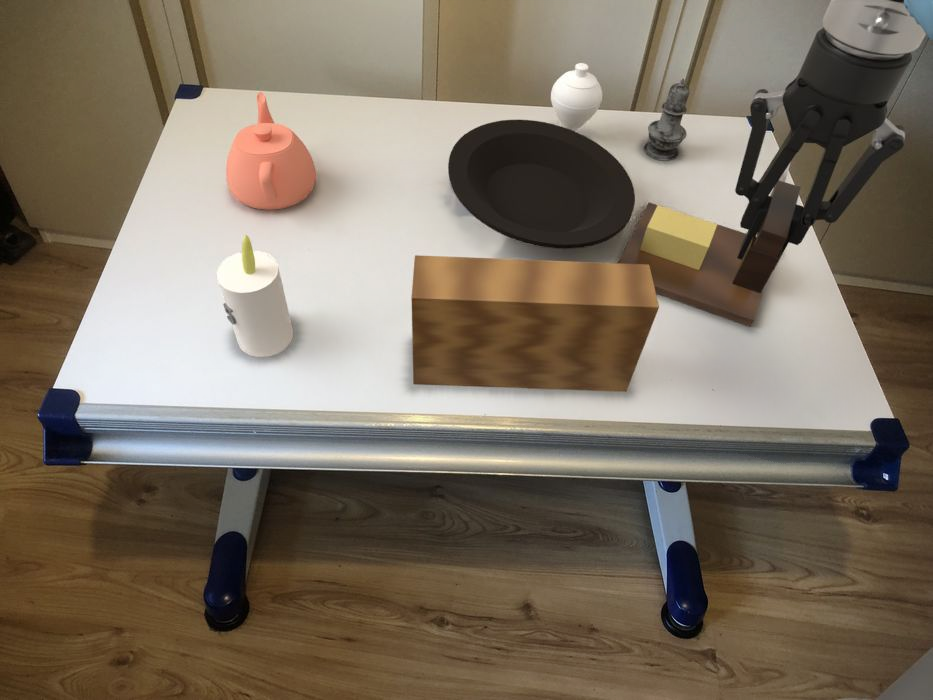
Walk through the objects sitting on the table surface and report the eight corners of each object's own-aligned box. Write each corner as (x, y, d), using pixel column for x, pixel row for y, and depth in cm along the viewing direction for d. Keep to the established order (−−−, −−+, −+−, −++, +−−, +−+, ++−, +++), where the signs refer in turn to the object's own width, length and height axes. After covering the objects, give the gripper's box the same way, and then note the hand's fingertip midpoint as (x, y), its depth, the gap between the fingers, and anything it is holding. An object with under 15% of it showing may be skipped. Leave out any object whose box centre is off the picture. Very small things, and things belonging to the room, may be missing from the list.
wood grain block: (413, 384, 76) (411, 297, 66) (416, 343, 80) (414, 254, 69) (626, 392, 77) (659, 307, 66) (619, 350, 81) (649, 264, 70)
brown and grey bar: (760, 293, 71) (790, 238, 65) (731, 283, 72) (758, 228, 66) (793, 180, 84) (820, 126, 78) (768, 172, 85) (794, 118, 79)
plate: (415, 176, 100) (415, 142, 96) (551, 136, 109) (557, 104, 104) (514, 300, 85) (519, 268, 81) (664, 244, 93) (675, 212, 89)
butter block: (698, 270, 89) (708, 247, 86) (639, 250, 91) (647, 226, 88) (707, 247, 92) (717, 224, 89) (650, 228, 94) (657, 204, 91)
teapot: (229, 228, 91) (212, 168, 84) (231, 149, 102) (216, 90, 95) (321, 220, 93) (312, 161, 86) (313, 143, 104) (305, 85, 97)
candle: (225, 335, 80) (191, 237, 68) (272, 308, 83) (247, 209, 71) (256, 367, 77) (226, 270, 65) (304, 337, 80) (283, 240, 68)
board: (750, 327, 84) (754, 320, 84) (611, 277, 89) (613, 271, 88) (773, 249, 94) (776, 243, 93) (646, 208, 98) (648, 201, 97)
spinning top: (588, 124, 111) (603, 52, 102) (596, 152, 106) (613, 79, 97) (541, 123, 111) (552, 51, 101) (548, 152, 106) (560, 79, 97)
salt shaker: (678, 165, 105) (702, 93, 96) (640, 157, 106) (660, 85, 97) (681, 144, 109) (705, 72, 100) (644, 136, 110) (665, 65, 101)
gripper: (762, 33, 55) (678, 253, 73) (970, 85, 51) (827, 304, 69) (777, -1, 59) (694, 214, 77) (970, 44, 56) (836, 259, 74)
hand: (757, 256), depth 73 cm, fingers closed on brown and grey bar, 2 cm apart
